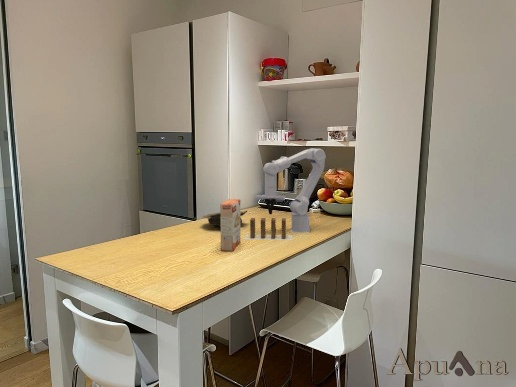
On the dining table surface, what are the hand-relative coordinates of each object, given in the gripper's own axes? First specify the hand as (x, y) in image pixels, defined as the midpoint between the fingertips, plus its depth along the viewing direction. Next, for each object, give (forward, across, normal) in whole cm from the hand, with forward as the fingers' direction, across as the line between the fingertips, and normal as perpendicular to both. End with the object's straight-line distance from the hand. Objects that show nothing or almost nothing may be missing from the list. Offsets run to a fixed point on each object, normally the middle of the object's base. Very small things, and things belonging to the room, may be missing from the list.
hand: (270, 213), depth 197 cm
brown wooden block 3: (+10, -2, +9) cm, 13 cm away
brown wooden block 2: (+10, +3, +9) cm, 13 cm away
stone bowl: (+11, +27, -15) cm, 32 cm away
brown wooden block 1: (+10, +8, +9) cm, 15 cm away
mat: (+10, 0, +9) cm, 14 cm away
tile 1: (+10, -7, +9) cm, 15 cm away
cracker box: (+11, +16, +24) cm, 31 cm away
